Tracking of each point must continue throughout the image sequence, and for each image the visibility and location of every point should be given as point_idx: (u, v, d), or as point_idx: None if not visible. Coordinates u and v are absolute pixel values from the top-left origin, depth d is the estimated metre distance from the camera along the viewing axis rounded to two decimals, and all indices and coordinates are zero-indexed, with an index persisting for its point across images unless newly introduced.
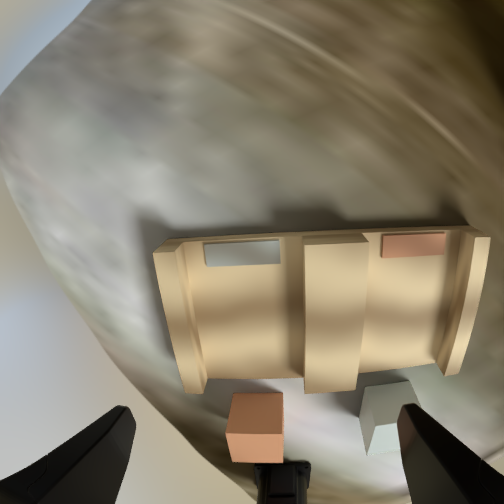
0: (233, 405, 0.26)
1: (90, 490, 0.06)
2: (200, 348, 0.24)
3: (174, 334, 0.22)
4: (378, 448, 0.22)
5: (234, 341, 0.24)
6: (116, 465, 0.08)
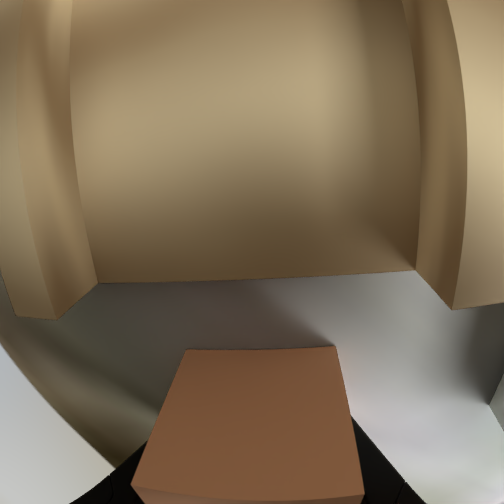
0: (179, 385, 0.08)
1: None
2: (68, 155, 0.06)
3: None
4: None
5: (174, 111, 0.06)
6: None
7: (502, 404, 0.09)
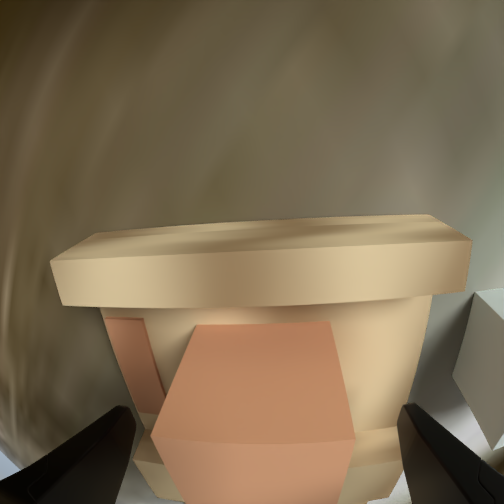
0: (191, 353, 0.09)
1: (90, 490, 0.06)
2: None
3: None
4: None
5: None
6: (116, 465, 0.08)
7: None
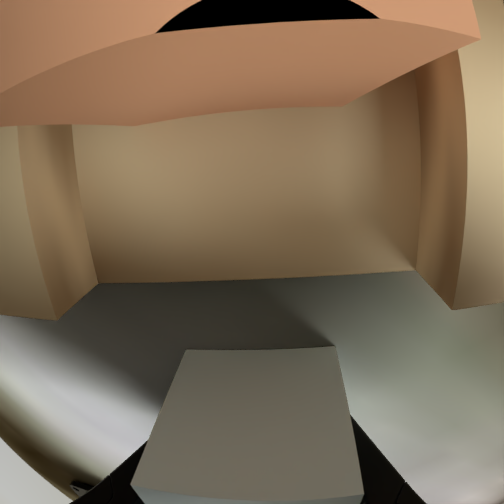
0: None
1: None
2: None
3: None
4: None
5: None
6: None
7: None
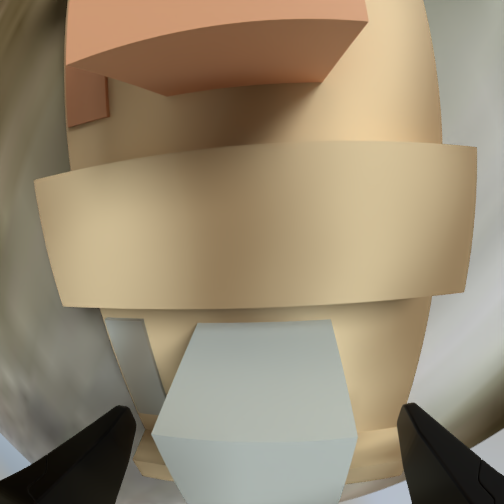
0: None
1: (90, 490, 0.06)
2: None
3: None
4: (215, 503, 0.07)
5: None
6: (116, 465, 0.08)
7: None
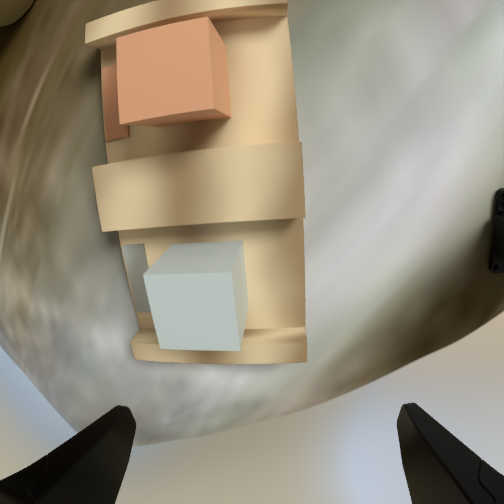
0: None
1: (90, 490, 0.06)
2: (255, 330, 0.21)
3: (217, 359, 0.20)
4: (172, 334, 0.16)
5: None
6: (116, 465, 0.08)
7: None
